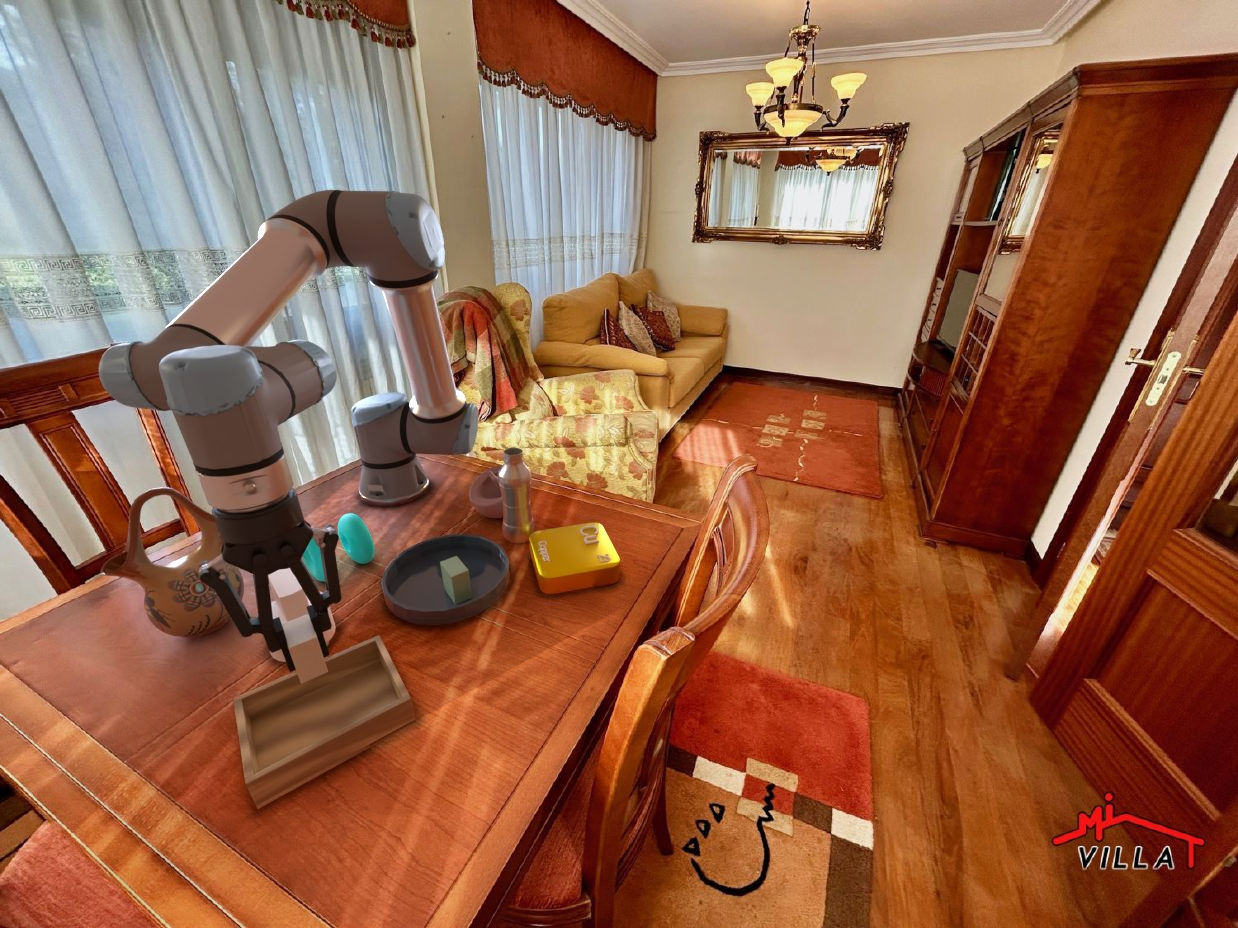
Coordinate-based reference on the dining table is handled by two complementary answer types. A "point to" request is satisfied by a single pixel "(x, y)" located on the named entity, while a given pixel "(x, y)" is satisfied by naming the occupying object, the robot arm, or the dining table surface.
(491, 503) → the pink rounded hollow piece
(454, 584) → the green rectangular block
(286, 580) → the base with upright slab
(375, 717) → the holder
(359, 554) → the donuts
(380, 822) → the dining table surface
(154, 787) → the dining table surface
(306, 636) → the beige rectangular block
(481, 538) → the dark grey round tray
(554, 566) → the element tile
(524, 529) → the silver metal bottle
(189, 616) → the ceramic vessel
